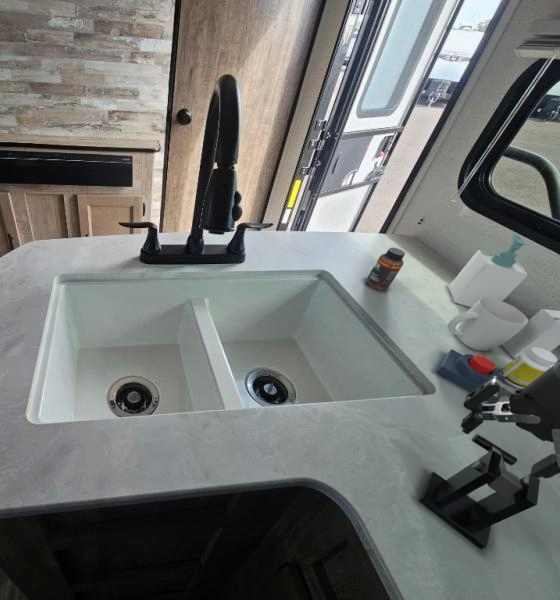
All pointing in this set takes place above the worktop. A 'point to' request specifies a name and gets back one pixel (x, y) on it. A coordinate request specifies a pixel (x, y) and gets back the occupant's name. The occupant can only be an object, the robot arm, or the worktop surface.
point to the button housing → (465, 372)
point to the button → (482, 364)
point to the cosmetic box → (536, 334)
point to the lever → (501, 469)
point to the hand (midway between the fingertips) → (498, 450)
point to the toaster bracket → (468, 513)
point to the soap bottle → (489, 275)
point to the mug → (488, 324)
